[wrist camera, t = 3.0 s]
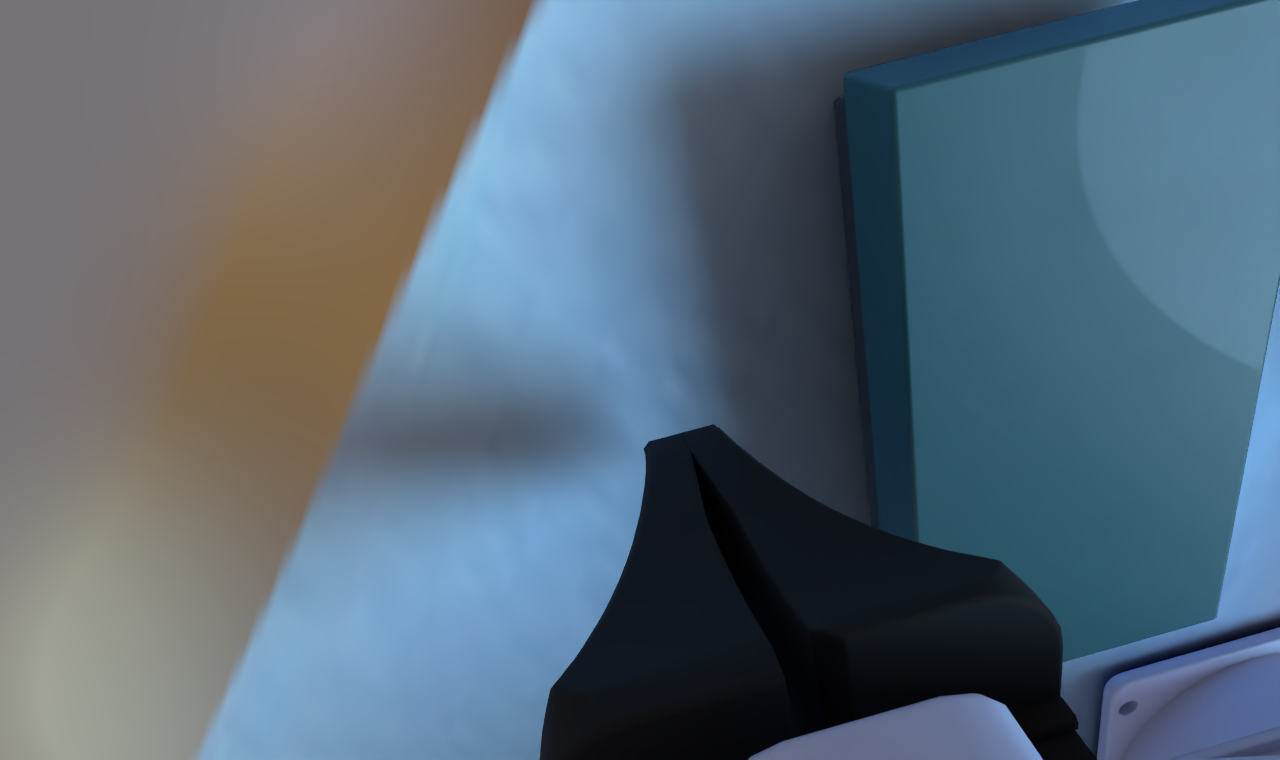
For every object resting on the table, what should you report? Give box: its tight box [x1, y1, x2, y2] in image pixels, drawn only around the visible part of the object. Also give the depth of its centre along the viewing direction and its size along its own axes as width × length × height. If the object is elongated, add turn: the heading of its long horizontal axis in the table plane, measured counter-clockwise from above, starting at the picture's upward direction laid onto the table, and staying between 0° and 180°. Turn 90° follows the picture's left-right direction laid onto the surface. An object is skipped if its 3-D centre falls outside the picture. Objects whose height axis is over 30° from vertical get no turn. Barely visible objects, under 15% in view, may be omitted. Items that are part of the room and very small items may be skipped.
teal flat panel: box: [834, 0, 1280, 662], centre depth 15 cm, size 12×6×3 cm, turn 12°
